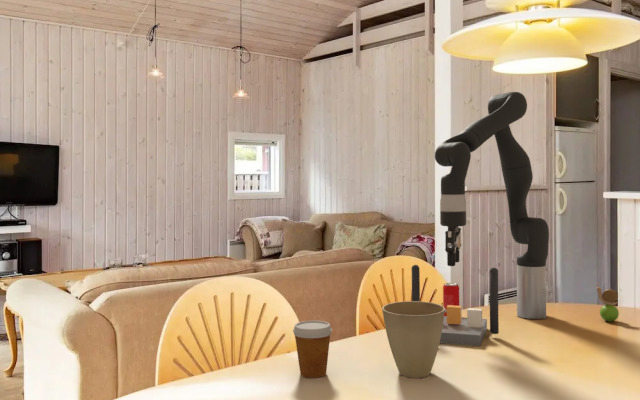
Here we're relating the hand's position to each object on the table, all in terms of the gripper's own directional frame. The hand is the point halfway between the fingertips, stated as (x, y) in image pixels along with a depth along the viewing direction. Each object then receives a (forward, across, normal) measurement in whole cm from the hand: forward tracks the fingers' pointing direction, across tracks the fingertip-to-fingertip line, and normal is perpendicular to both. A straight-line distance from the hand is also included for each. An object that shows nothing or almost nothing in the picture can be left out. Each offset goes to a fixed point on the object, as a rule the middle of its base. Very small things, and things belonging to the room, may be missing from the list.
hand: (453, 264), depth 173 cm
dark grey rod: (+20, 0, +12) cm, 23 cm away
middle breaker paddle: (+17, 0, 0) cm, 17 cm away
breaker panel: (+21, 0, 0) cm, 21 cm away
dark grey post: (+20, 0, -11) cm, 23 cm away
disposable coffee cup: (+22, -46, +27) cm, 58 cm away
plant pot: (+22, -38, +4) cm, 44 cm away
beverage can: (+21, +18, +4) cm, 28 cm away
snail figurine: (+21, +31, -44) cm, 58 cm away
